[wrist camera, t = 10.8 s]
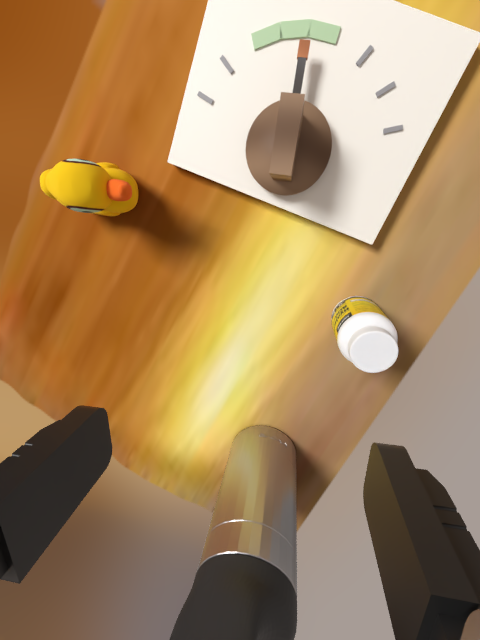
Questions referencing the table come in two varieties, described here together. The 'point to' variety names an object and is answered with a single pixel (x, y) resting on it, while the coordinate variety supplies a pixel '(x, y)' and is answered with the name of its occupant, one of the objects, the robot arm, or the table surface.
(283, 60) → the dial board
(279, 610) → the robot arm
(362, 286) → the table surface
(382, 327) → the supplement bottle
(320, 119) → the knob
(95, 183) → the duckling
